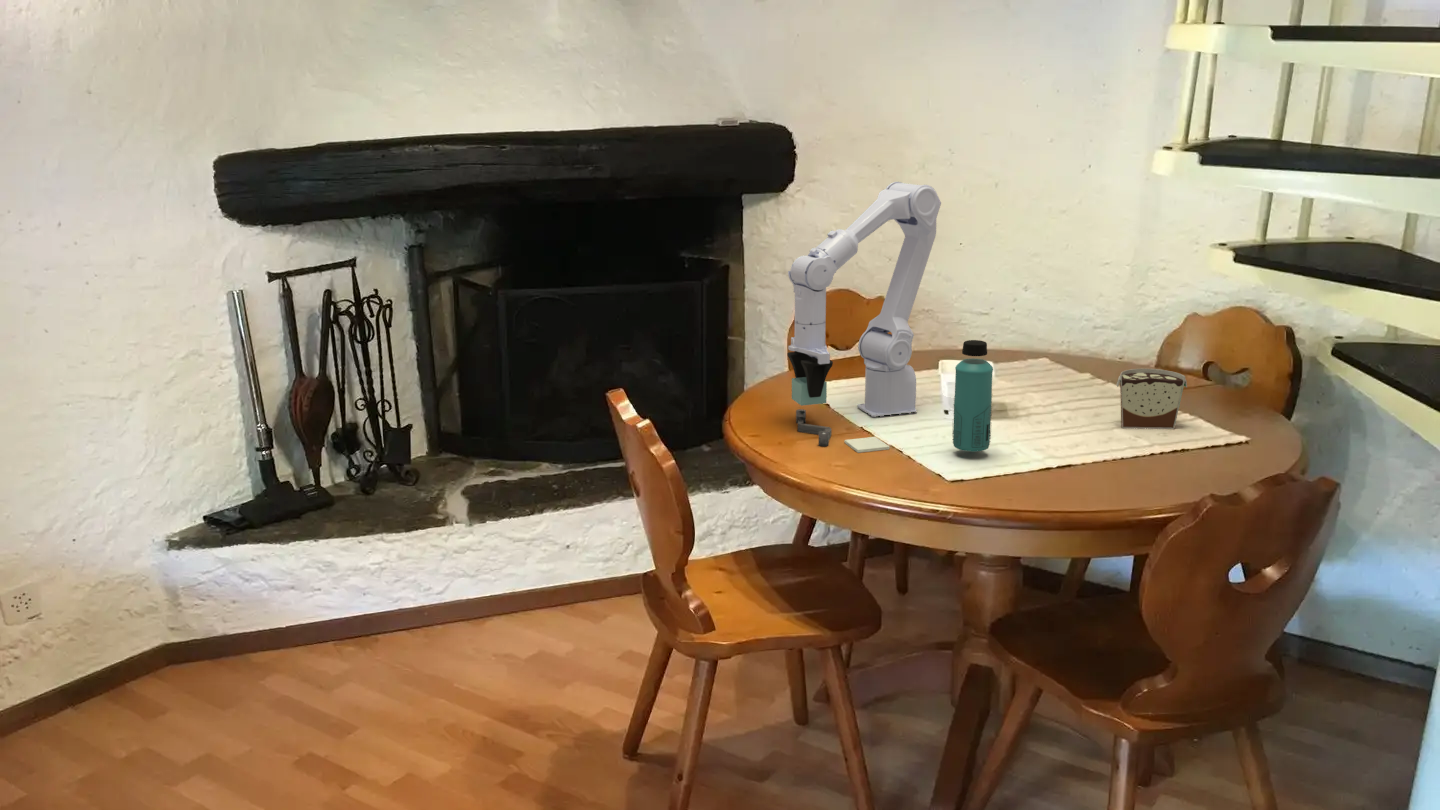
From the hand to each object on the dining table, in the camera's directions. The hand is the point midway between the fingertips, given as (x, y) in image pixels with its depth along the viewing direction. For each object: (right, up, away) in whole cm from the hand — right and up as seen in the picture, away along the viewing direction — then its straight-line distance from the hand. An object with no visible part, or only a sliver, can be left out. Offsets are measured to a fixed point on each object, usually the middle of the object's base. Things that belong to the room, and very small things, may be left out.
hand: (809, 392), depth 208 cm
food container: (+62, -6, -1) cm, 63 cm away
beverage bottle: (+27, -11, -16) cm, 33 cm away
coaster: (+9, -10, -11) cm, 17 cm away
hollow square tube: (0, -1, 0) cm, 2 cm away
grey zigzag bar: (+1, -7, -3) cm, 8 cm away
